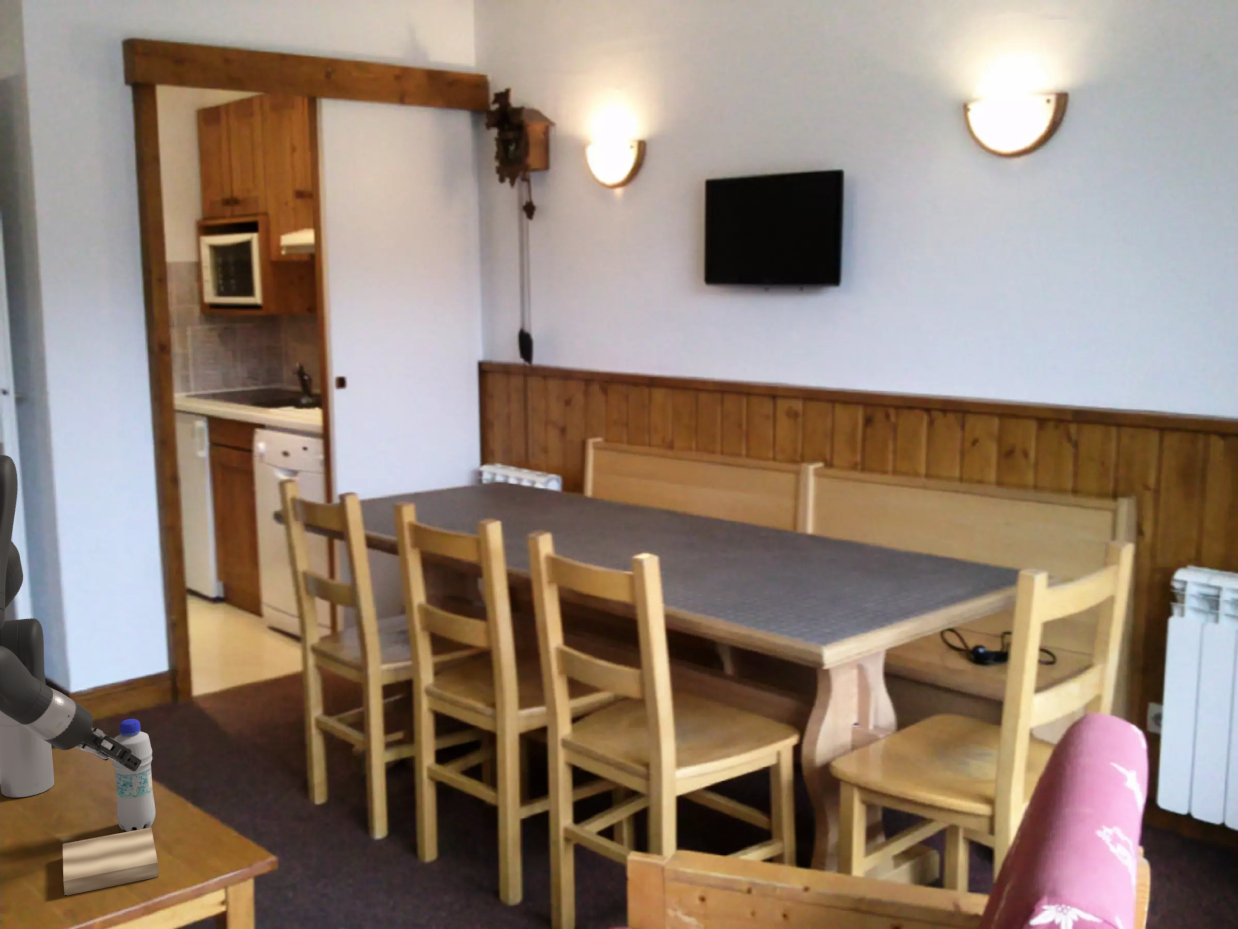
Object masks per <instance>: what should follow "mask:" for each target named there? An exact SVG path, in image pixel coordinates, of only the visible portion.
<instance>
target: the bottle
mask: <svg viewBox="0 0 1238 929" xmlns="http://www.w3.org/2000/svg"><path fill="white" fill-rule="evenodd" d="M113 739H115V740H116V741H117V742H118V743H120V744H121V745H123V746H125V747H126V748H129V749H131V751H132V753H131V754H132V755H134V756H136V757H137V758H139V759H140V760H141V764H140V766H139V767H138V769H137V770H136V771H131V770H129V769H128V768H126V767H125V766H123V765H121V764H120V763H116V761H114V760H112V759H111V760H112V763H111V764H112V766H113V768H114V774H115V777H114V778H115V788H116V816H117V823H118V826H119V828H120V829H121V831H125V832H129V831H133V828H136V830H140V829H144V827H145V828H152V825H153V823H154V821H155V819H156V806H155V799H154V791H153V778H152V765H151V764H152V760H153V749H152V746H151V745H152V744H151V740H150V737H149V734H148V733H146V732H144V731H141V723H140V721H139V720H138V719H135V718H128V719H125V720H122V721H121V722H120V724H119V734H118V735H117V736H115V737H114V738H113ZM120 751H121V750H119V752H120ZM119 752H118V754H119ZM118 754H117V755H118Z"/></svg>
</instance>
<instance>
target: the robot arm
mask: <svg viewBox="0 0 1238 929" xmlns="http://www.w3.org/2000/svg"><path fill="white" fill-rule="evenodd" d="M18 481H19V480H18V471H17V467H16V464H15V461H14V460H13V458H12V457H11V456H9V455H5V454H0V792H1V795H3V796H5V797H6V798H7V797H8V798H25V797H31V796H35V795H39V794H42V793H44V792H46V791H49V790H50V789H52V788H53V786H54V785H55V776H54V773H55V772H54V761H53V751H52V746H54V748H56V749H58V750H60V751H69V750H72V749H73V748H77V749H79V750H81V751H83V752H87V753H92V754H93V755H94V756H96V757H98V758H99V759H101V760H102V761H108V760H109V759H110V760H114V761H116V763H120V764H121V765H123V766H125V767H126V768H128V769H129V770H131V771H136V770H137V769H138V767H139V766H140V764H141V760H140V759H139V758H137V757H136V756H134V755H132V754H131V753H132V751H131V749H129V748H126V747H125V746H123V745H121V744H120V743H118V742H117V741H116V740H115V739H114V738H113V737H111V736H110V735H108V734H105V733H104V731H103V730H101V729H100V728H97V727H94V728H93V722H94V719H93V714H92V712H91V711H90V710H88V709H87V708H85V707H84V706H82V705H81V704H79V703H78V702H76V701H74V699H71V698H70V697H68V696H67V695H65V693H64V694H63V693H62V692H60V691H58V690H56V689H54V688H52V687H50V686H49V685H47V684H46V683H47V682H46V672H45V671H46V670H45V640H44V630H43V627H42V624H41V622H40V621H39V620H38V619H37V618H34V617H33V618H31V617H30V618H21V619H20V618H19V619H11V620H10V619H9V620H5V619H6V618H5V617H6V615H5V614H6V608H7V607H8V606H9V605H10V604H11V603H12V601H14V599H15V598H16V596H17V595H18V594H19V592H20V590H21V587H22V585H23V582H24V573H23V572H24V571H23V566H22V561H21V557H20V555H21V554H20V552H19V549H18V548H17V546H16V545H15V544H14V542H13V541H12V537H13V531H14V530H13V529H14V523H15V514H16V510H17V508H16V507H17V500H18V491H19V490H18V489H19V488H18V487H19V486H18V485H19V483H18ZM119 750H121V751H120V752H119ZM118 752H119V754H118ZM117 754H118V755H117Z"/></svg>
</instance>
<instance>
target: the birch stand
mask: <svg viewBox="0 0 1238 929" xmlns="http://www.w3.org/2000/svg"><path fill="white" fill-rule="evenodd" d="M154 840H155V839H154V833H153V830H152V827H149V828H146V827H145V828H143V829H140V830H137V829H136V830H132V831H129V832H127V831H125V832H120V833H114V834H109V835H103V836H98V837H92V838H88V839H80V840H78V841H77V840H75V841H71V842H66V843H62V870H63V871H62V872H63V874H62V876H63V892H64V896H65V895H67V896H70V895H76V894H80V893H85V892H91V891H95V890H100V889H105V888H110V887H114V886H120V885H121V886H122V885H125V884H130V883H135V882H139V881H144V880H149V879H155V878H159V876H160V874H159V862H158V856H157V850H156V846H155V841H154Z"/></svg>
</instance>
